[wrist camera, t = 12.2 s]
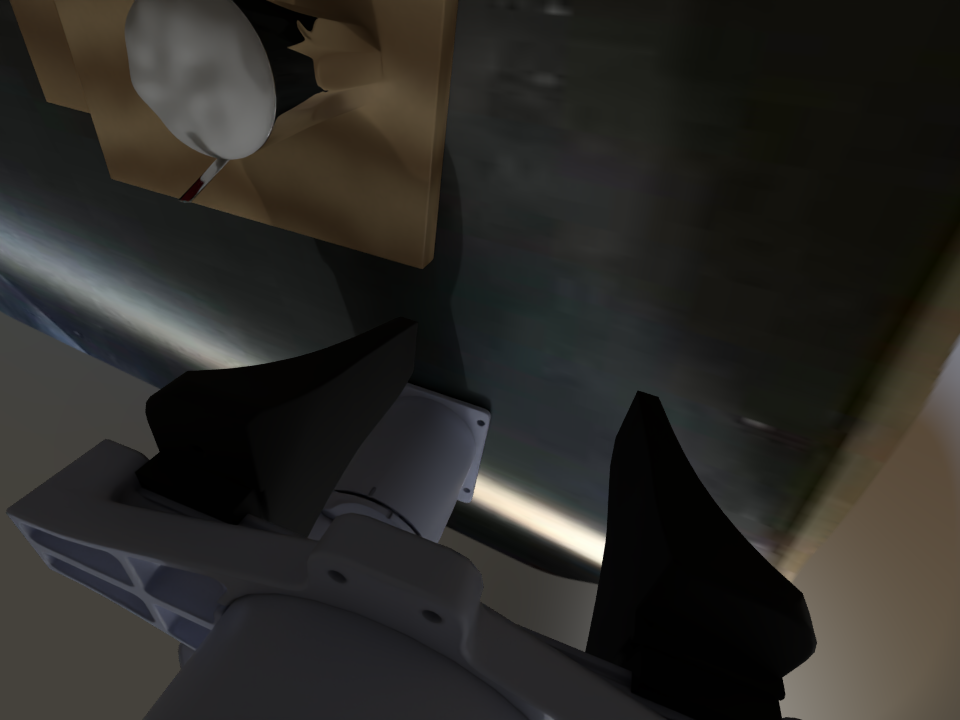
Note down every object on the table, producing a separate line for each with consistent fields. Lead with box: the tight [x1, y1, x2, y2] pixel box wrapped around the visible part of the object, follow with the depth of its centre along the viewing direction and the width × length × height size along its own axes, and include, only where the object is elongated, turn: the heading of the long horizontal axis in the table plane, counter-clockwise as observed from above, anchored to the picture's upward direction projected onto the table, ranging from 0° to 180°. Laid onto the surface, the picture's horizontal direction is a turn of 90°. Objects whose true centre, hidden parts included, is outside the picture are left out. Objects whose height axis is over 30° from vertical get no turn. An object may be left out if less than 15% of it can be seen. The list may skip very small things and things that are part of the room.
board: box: [10, 0, 458, 269], centre depth 23 cm, size 12×23×2 cm, turn 81°
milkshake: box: [125, 0, 383, 203], centre depth 16 cm, size 5×5×10 cm
